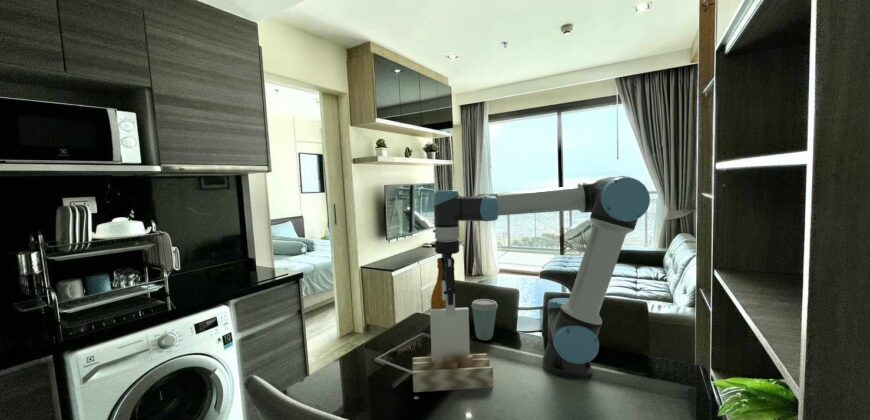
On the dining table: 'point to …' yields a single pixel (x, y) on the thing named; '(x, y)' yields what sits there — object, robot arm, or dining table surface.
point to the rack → (451, 375)
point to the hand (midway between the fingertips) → (448, 306)
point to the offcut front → (445, 365)
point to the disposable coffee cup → (484, 317)
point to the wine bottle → (438, 291)
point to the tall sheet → (449, 333)
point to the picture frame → (402, 348)
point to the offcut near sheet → (460, 360)
